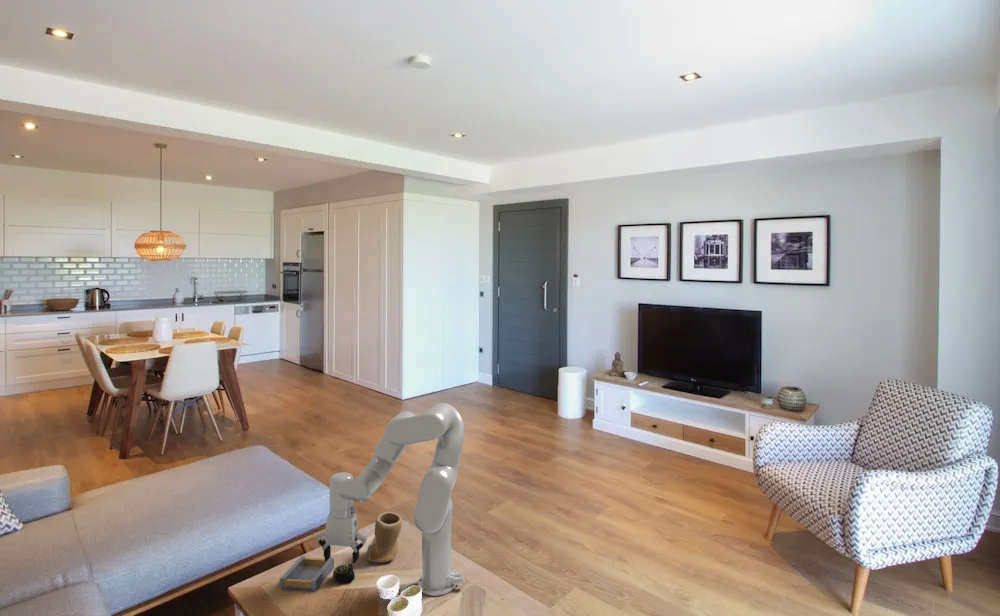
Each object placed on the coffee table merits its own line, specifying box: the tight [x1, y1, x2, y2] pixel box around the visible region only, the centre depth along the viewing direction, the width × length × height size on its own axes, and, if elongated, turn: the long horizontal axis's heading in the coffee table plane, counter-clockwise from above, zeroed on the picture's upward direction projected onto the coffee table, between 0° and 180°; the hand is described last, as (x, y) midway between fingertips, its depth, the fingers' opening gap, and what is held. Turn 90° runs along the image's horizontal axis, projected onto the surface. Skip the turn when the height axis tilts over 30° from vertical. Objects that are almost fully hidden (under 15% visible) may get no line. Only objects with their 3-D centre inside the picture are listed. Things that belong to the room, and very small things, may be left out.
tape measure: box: [332, 563, 355, 584], centre depth 181 cm, size 7×7×4 cm
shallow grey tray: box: [279, 555, 335, 592], centre depth 181 cm, size 12×14×4 cm
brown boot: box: [368, 511, 403, 563], centre depth 196 cm, size 15×12×15 cm
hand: (341, 560), depth 181 cm, fingers open, 9 cm apart
